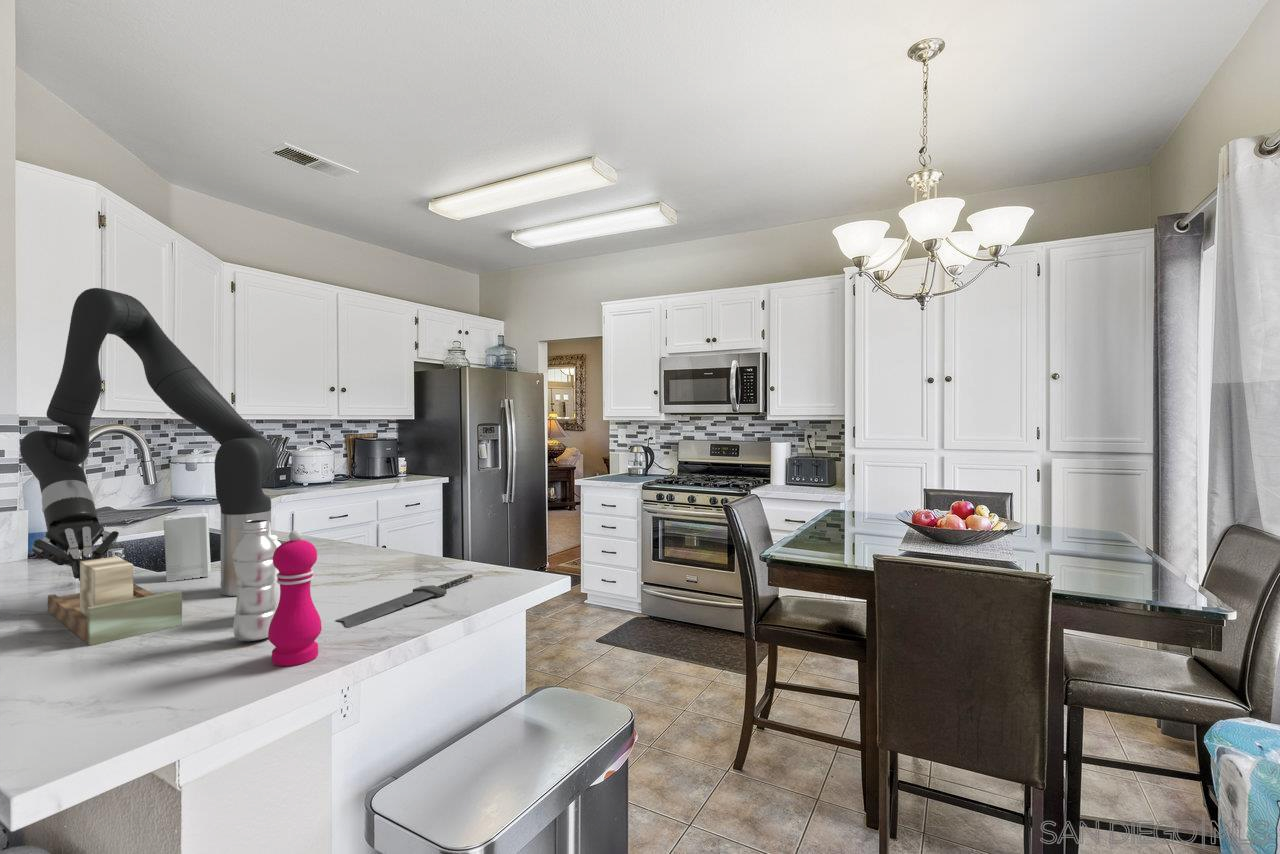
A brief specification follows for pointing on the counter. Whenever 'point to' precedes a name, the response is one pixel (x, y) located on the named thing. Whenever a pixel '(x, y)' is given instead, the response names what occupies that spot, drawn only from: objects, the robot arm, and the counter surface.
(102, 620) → the trap deck
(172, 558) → the skincare box
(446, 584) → the toy broadsword
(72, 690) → the counter surface
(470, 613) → the counter surface
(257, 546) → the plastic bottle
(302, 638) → the pepper mill
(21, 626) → the counter surface
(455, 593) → the counter surface
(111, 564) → the maple block
